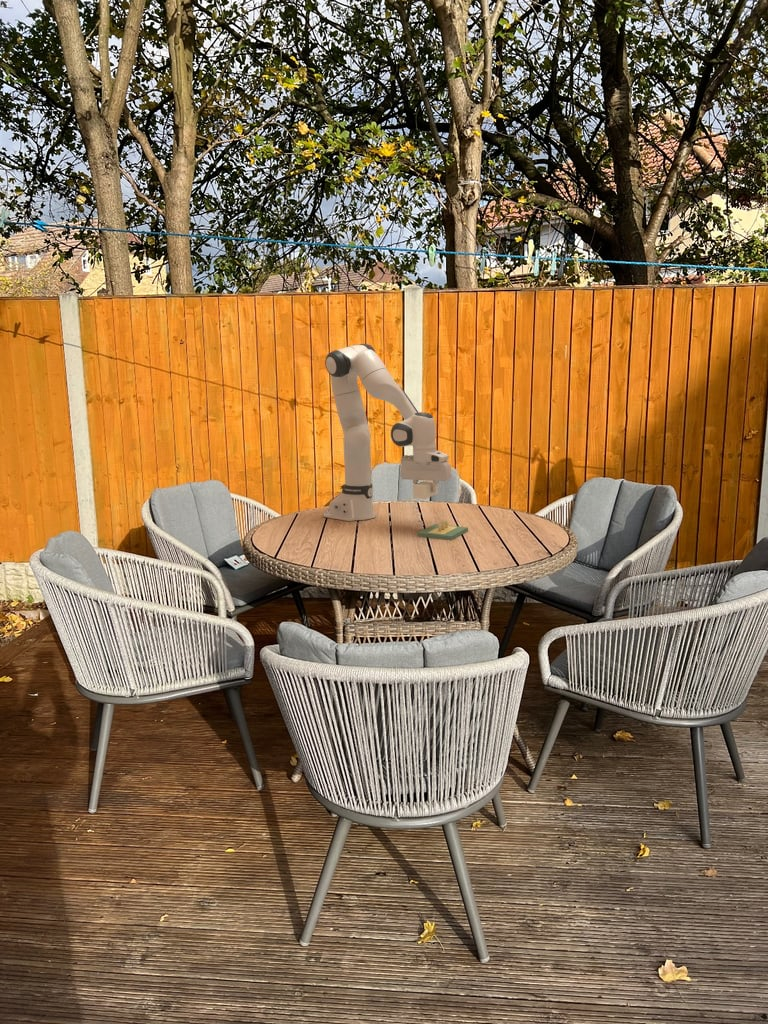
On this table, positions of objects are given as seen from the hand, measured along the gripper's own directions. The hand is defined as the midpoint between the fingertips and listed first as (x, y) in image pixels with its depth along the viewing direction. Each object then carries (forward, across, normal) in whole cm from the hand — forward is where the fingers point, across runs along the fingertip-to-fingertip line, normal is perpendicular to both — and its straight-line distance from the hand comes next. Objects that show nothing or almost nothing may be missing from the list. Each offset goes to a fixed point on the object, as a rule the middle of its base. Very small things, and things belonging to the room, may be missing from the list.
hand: (426, 491), depth 291 cm
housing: (+2, 0, 0) cm, 2 cm away
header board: (+16, +6, +1) cm, 17 cm away
